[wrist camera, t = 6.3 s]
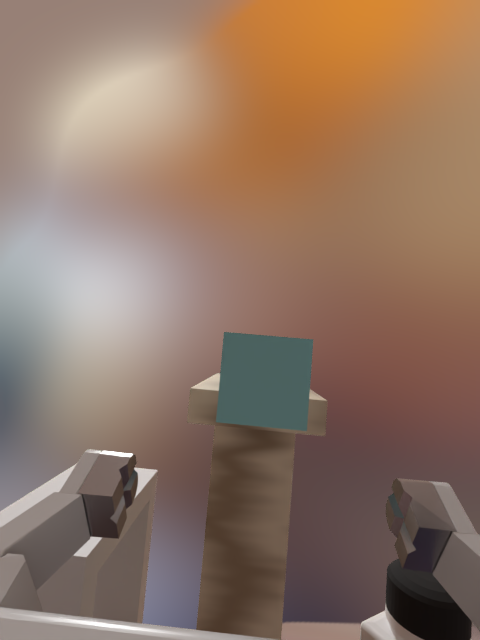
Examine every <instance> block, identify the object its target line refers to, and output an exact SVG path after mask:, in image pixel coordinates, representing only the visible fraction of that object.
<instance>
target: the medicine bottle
mask: <svg viewBox="0 0 480 640" xmlns="http://www.w3.org/2000/svg"><path fill="white" fill-rule="evenodd" d="M471 625H472V621H471V620H470V619H469V618H468V616H467V615H466V614H465V613H464V612H463V610H462V609H461V608H460V607H459V606H458V604H457V603H456V602H455V601H454V600H453V598H452V597H451V596H450V595H449V594H448V592H447V591H446V590H445V589H444V588H443V586H442V585H441V584H440V583H439V582H438V580H437V579H436V578H435V577H434V576H433V573H431V572H423V571H416V570H409V569H402V566H401V563H400V560H399V559H397V560H395V561H393V562H392V563H391V564H390V565H389V566H388V568H387V585H386V606H385V611H384V612H381V613H379V614H377V615H375V616H373V617H371V618H369V619H367V620H365V621H363V622H362V623H361V631H360V640H472V639H471Z"/></svg>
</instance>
